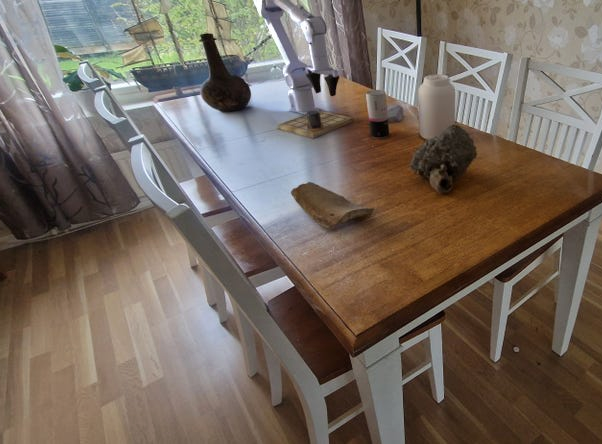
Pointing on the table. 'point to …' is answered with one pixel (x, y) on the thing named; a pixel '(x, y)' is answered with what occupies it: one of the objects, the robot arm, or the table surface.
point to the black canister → (314, 119)
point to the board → (302, 128)
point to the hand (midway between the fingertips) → (325, 94)
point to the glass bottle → (222, 81)
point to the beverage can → (377, 113)
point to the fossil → (327, 205)
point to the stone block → (395, 113)
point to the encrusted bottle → (444, 158)
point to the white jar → (436, 105)
